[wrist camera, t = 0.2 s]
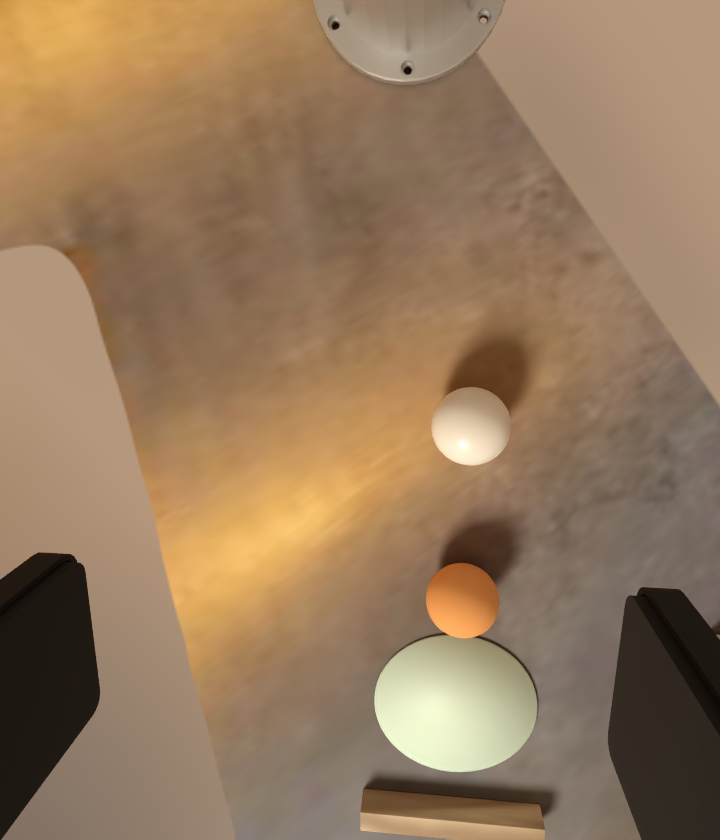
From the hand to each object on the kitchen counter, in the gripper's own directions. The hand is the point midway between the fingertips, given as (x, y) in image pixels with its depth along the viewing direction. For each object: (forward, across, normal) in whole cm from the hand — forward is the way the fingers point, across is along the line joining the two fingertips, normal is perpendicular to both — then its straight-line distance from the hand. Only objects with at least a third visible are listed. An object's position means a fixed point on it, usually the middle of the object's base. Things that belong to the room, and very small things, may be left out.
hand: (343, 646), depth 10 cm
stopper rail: (+36, -5, +42) cm, 55 cm away
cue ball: (+33, -5, +5) cm, 34 cm away
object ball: (+33, -5, +19) cm, 38 cm away
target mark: (+36, -5, +31) cm, 48 cm away
